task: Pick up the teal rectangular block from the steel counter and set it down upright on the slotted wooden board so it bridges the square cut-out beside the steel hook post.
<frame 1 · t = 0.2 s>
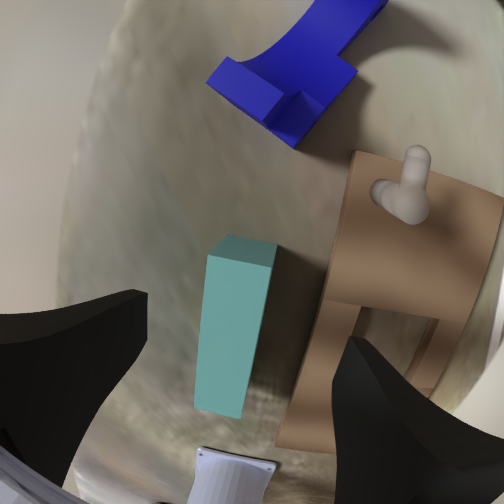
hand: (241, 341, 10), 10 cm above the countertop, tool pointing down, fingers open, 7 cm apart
teal rectangular block: (239, 315, 21), on the countertop
blue concave arch block: (323, 56, 16), on the countertop
slotted wooden board: (384, 342, 20), on the countertop
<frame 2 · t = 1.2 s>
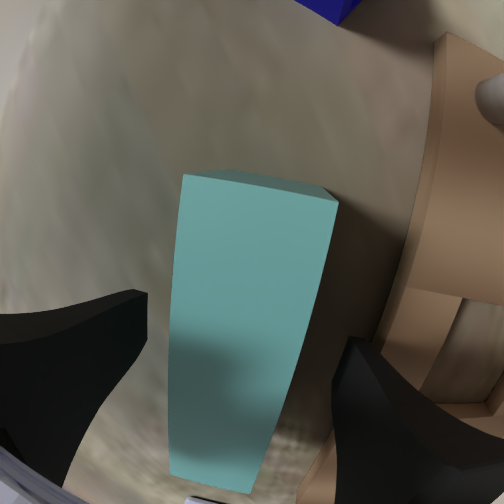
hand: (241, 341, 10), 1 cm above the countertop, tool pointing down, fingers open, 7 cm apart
teal rectangular block: (248, 319, 12), on the countertop
slotted wooden board: (473, 355, 11), on the countertop
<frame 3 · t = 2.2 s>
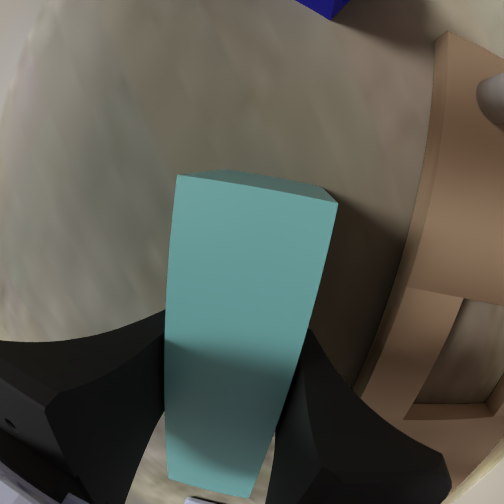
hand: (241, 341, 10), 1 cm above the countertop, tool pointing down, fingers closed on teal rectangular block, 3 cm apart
teal rectangular block: (247, 322, 12), on the countertop, touching gripper
slotted wooden board: (474, 355, 11), on the countertop
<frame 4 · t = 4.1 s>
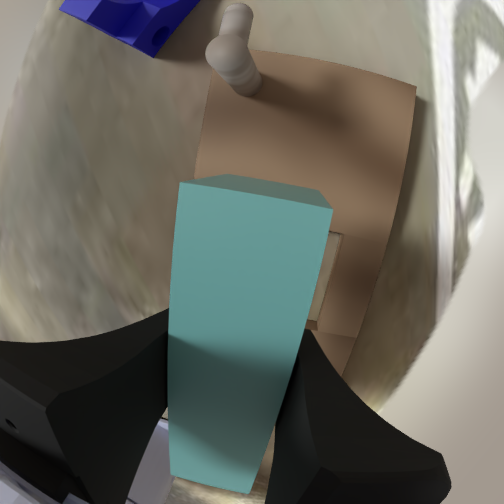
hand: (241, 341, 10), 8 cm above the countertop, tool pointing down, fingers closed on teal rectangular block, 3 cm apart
teal rectangular block: (247, 322, 12), point 7 cm above the countertop, touching gripper
slotted wooden board: (280, 267, 18), on the countertop
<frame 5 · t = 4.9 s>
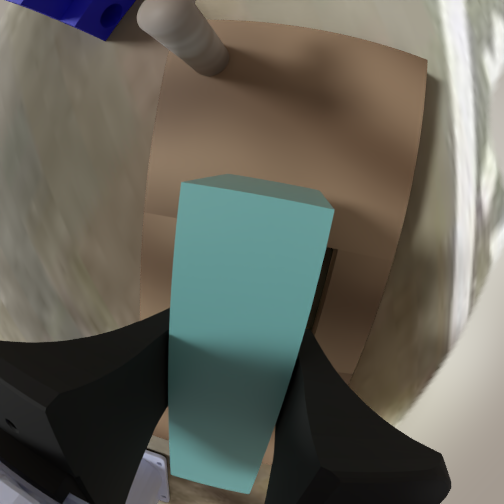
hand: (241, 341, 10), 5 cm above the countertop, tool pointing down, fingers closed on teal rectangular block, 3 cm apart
teal rectangular block: (248, 322, 12), point 3 cm above the countertop, touching gripper
slotted wooden board: (257, 290, 15), on the countertop
when the fingers open (4 cm above the countertop, at t = 5.8 s): teal rectangular block stays where it is, resting on slotted wooden board.
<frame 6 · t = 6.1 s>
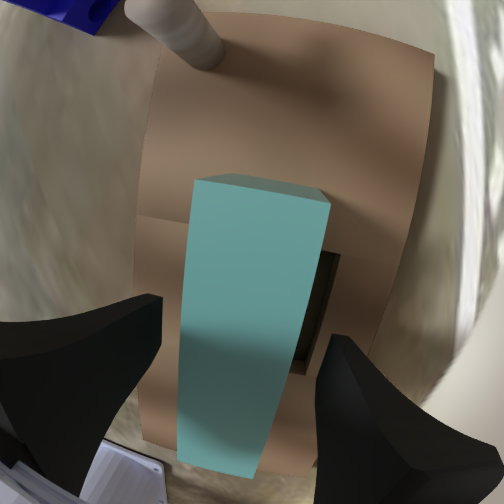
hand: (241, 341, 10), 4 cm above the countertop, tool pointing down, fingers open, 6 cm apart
teal rectangular block: (251, 312, 13), point 1 cm above the countertop, touching slotted wooden board
slotted wooden board: (256, 296, 14), on the countertop
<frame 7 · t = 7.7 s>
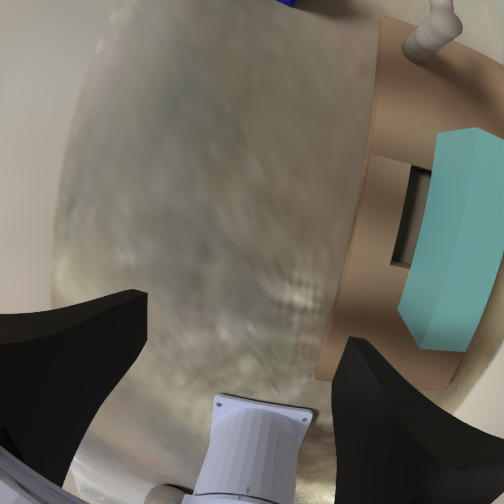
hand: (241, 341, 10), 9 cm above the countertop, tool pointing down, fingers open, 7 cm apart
teal rectangular block: (443, 229, 16), point 1 cm above the countertop, touching slotted wooden board
plastic bottle: (176, 490, 30), on the countertop
slotted wooden board: (436, 222, 17), on the countertop
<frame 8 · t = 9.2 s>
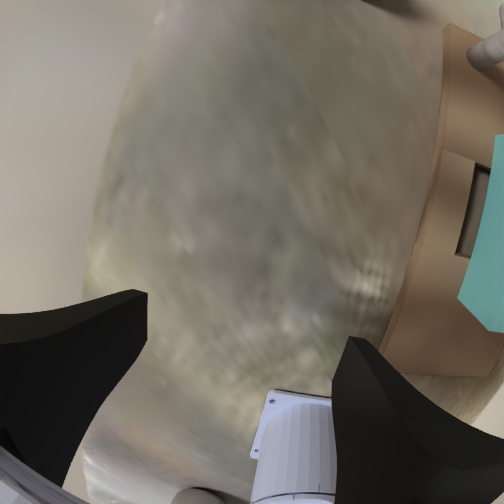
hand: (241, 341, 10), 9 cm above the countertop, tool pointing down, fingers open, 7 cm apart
teal rectangular block: (498, 223, 15), point 1 cm above the countertop, touching slotted wooden board
plastic bottle: (203, 493, 29), on the countertop
slotted wooden board: (489, 216, 16), on the countertop
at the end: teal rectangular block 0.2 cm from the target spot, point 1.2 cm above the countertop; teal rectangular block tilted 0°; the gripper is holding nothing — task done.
